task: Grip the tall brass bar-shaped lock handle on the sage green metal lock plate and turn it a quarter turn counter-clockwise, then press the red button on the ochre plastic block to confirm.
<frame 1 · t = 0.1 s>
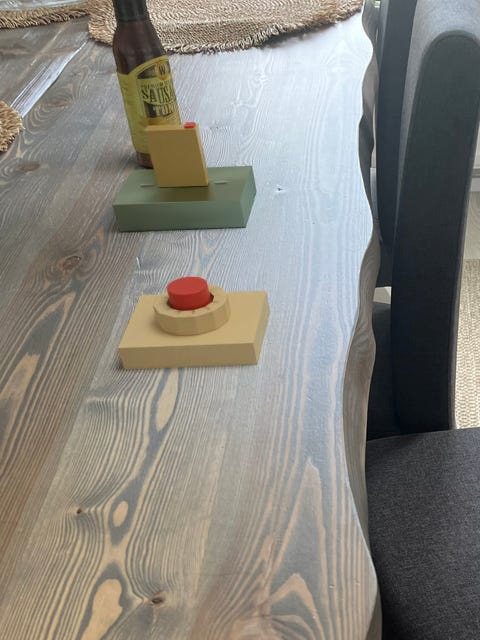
lock handle: (177, 154, 111), point 6 cm above the table, hinge at 0.0°
confirm button: (189, 294, 91), point 4 cm above the table, slide at 0.1 cm
confirm block: (200, 339, 94), on the table
lock plate: (190, 211, 115), on the table
sauce bottle: (164, 162, 126), on the table
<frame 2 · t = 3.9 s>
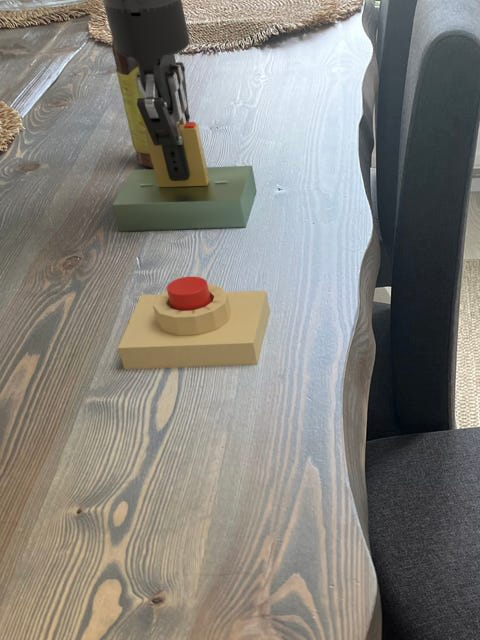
hand: (182, 174, 112), 4 cm above the table, tool pointing down, fingers closed on lock handle
lock handle: (177, 154, 111), point 6 cm above the table, hinge at 0.0°, touching gripper
everything else where it was.
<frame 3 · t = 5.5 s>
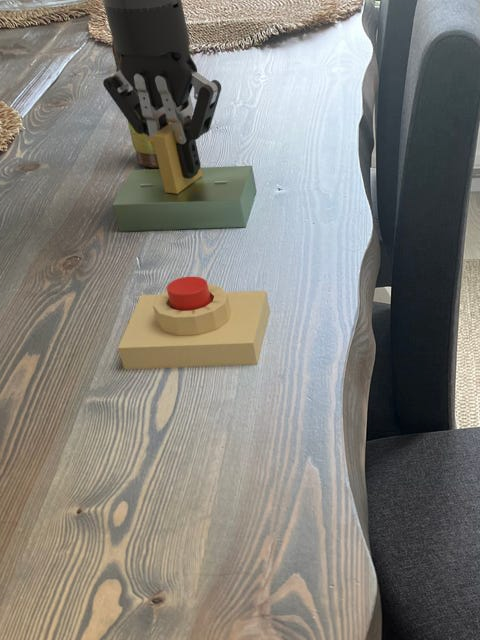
hand: (182, 174, 112), 4 cm above the table, tool pointing down, fingers closed on lock handle, 2 cm apart
lock handle: (177, 154, 111), point 6 cm above the table, hinge at 69.5°, touching gripper
everything else where it was.
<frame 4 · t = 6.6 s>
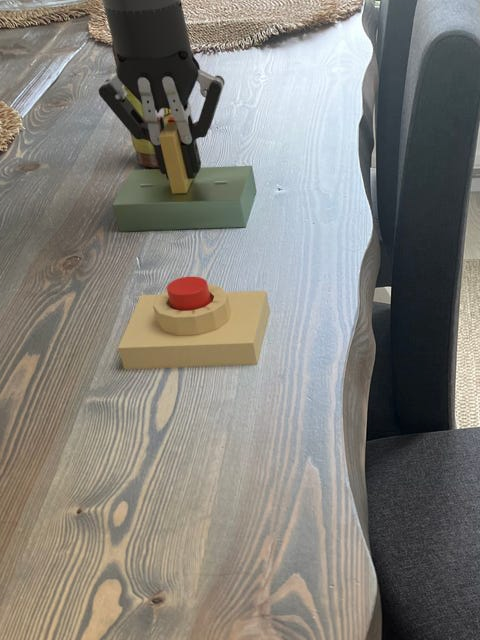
hand: (182, 175, 112), 4 cm above the table, tool pointing down, fingers closed
lock handle: (177, 154, 111), point 6 cm above the table, hinge at 89.0°
everything else where it was.
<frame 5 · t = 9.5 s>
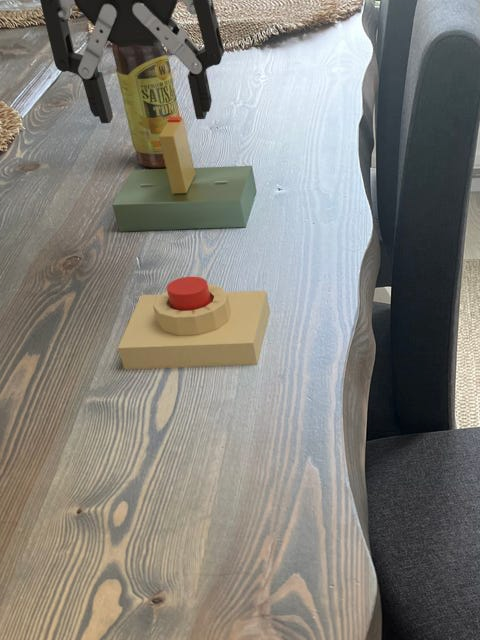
hand: (155, 118, 91), 16 cm above the table, tool pointing down, fingers open, 8 cm apart
nothing on the table moved.
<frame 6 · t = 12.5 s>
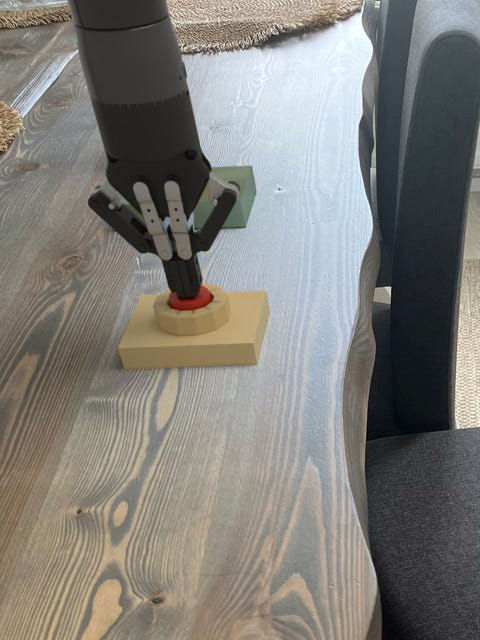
hand: (188, 294, 91), 5 cm above the table, tool pointing down, fingers closed
confirm button: (191, 302, 91), point 4 cm above the table, slide at -0.7 cm, touching gripper
everything else where it was.
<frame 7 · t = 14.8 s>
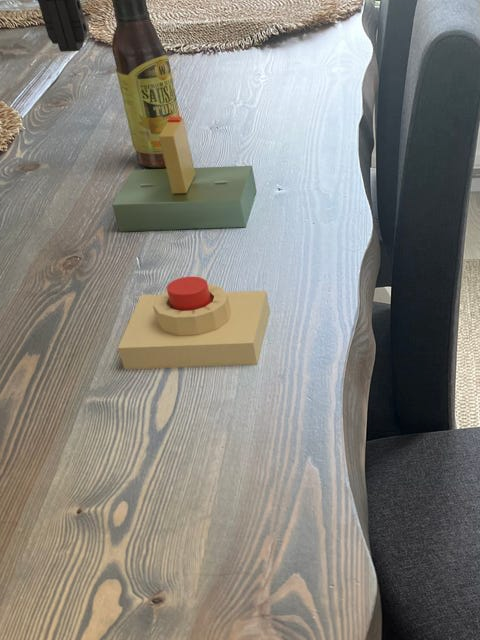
hand: (72, 48, 82), 23 cm above the table, tool pointing down, fingers closed
confirm button: (189, 294, 91), point 4 cm above the table, slide at 0.1 cm
everything else where it was.
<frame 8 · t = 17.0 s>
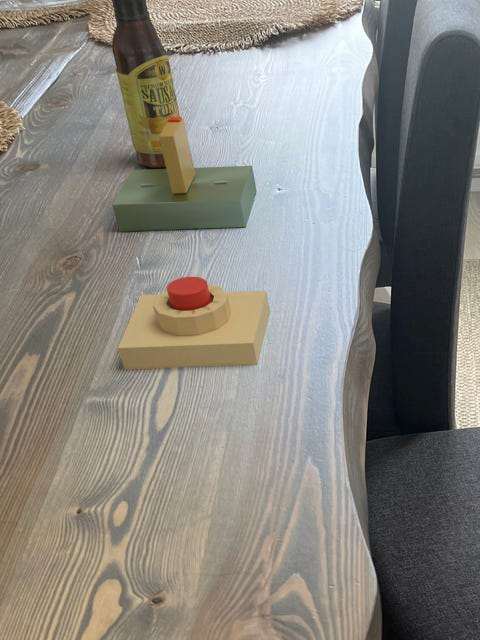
nothing on the table moved.
at the end: lock handle at +89° (first picture: +0°); confirm button pushed in 1.1 cm at the most during the clip, back to where it started at the end; confirm button slide at 0.1 cm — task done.
